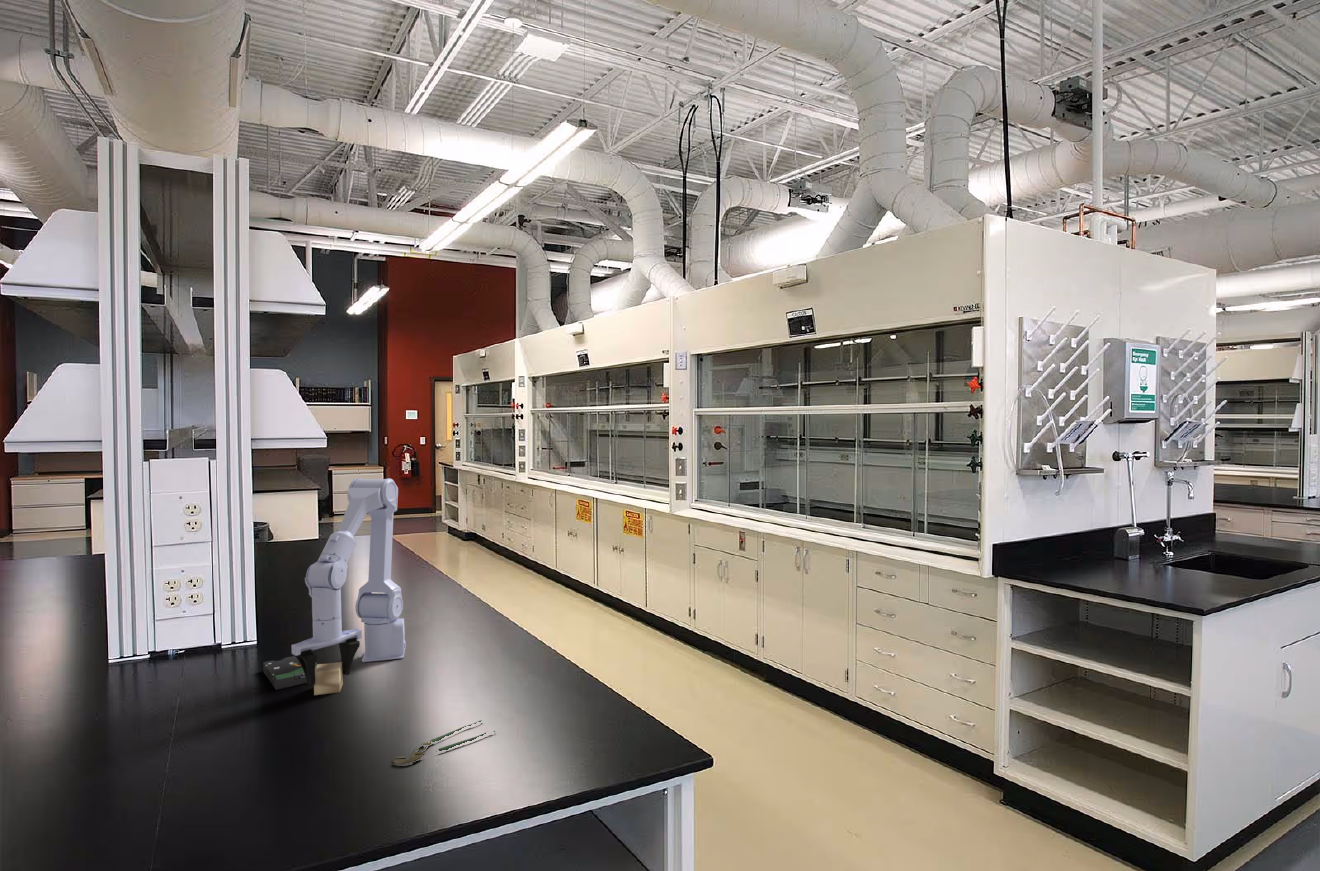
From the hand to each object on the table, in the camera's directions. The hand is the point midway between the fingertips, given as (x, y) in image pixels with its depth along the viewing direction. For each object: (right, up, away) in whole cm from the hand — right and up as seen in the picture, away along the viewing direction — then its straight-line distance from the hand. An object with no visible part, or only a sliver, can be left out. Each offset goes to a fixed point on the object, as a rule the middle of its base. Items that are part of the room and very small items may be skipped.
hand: (328, 678), depth 156 cm
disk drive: (-12, -3, +9) cm, 15 cm away
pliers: (+33, -3, -27) cm, 43 cm away
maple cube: (0, -2, 0) cm, 2 cm away
